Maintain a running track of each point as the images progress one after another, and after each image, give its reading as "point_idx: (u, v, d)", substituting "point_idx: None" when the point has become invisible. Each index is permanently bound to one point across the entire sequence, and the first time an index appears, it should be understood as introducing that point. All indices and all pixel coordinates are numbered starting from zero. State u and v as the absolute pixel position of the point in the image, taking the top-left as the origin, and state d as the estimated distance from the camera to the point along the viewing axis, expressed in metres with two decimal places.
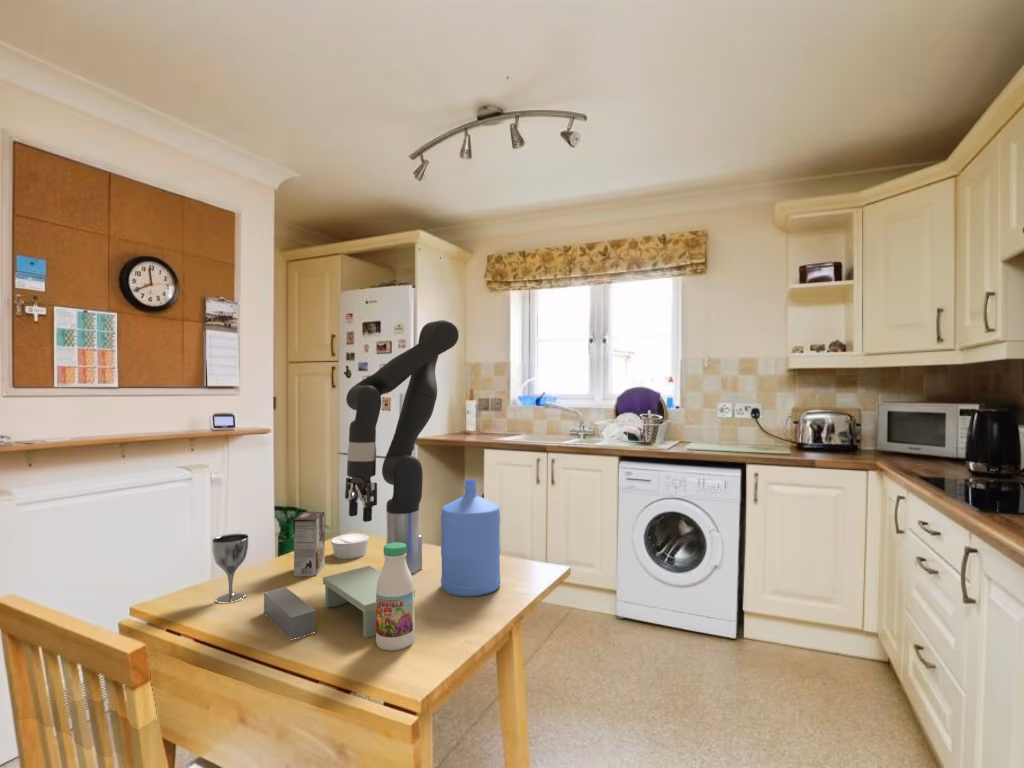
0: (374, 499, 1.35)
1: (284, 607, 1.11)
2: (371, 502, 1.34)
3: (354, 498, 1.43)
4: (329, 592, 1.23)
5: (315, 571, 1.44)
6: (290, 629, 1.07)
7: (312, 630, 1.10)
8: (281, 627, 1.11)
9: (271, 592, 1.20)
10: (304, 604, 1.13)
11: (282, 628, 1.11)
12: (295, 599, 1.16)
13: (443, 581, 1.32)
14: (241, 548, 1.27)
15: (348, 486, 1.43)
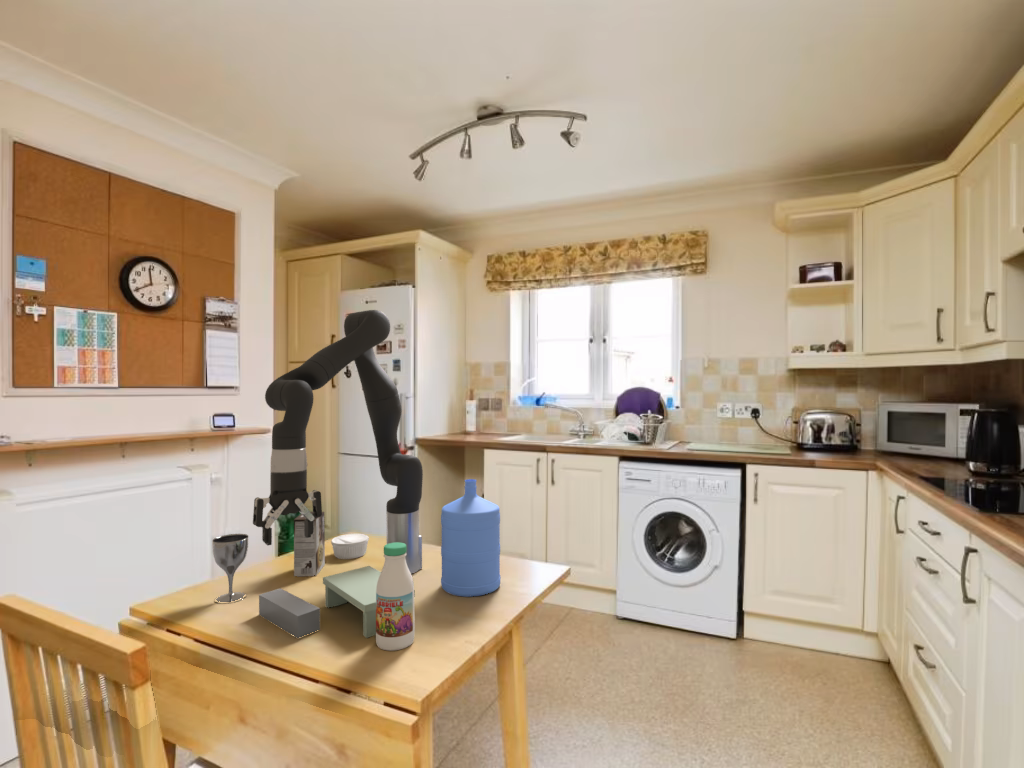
0: (316, 508, 1.20)
1: (286, 607, 1.12)
2: None
3: None
4: (329, 592, 1.23)
5: (315, 571, 1.44)
6: (296, 628, 1.08)
7: (317, 628, 1.11)
8: (284, 627, 1.11)
9: (267, 593, 1.19)
10: (306, 603, 1.14)
11: (285, 628, 1.11)
12: (294, 598, 1.16)
13: (443, 581, 1.32)
14: (241, 548, 1.27)
15: None
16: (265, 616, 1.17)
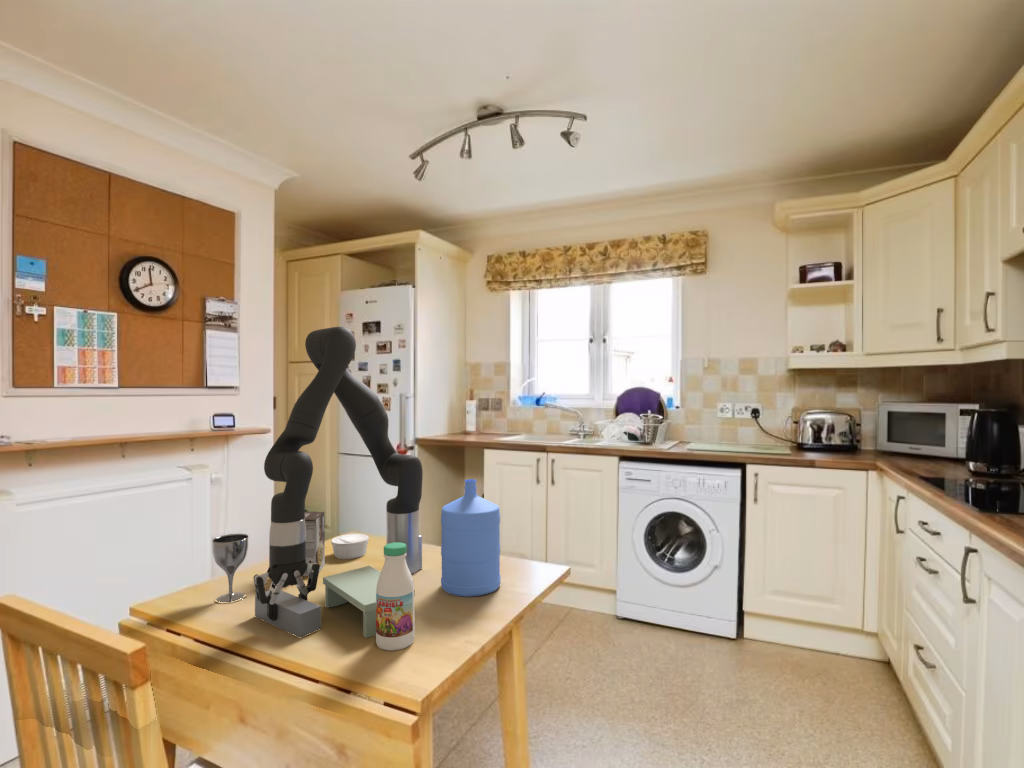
0: (311, 581, 1.19)
1: (286, 606, 1.11)
2: None
3: None
4: (329, 592, 1.23)
5: None
6: (298, 626, 1.08)
7: (318, 626, 1.11)
8: (284, 626, 1.11)
9: None
10: (306, 601, 1.14)
11: (285, 627, 1.11)
12: (293, 597, 1.16)
13: (443, 581, 1.32)
14: (241, 548, 1.27)
15: None
16: (262, 616, 1.16)
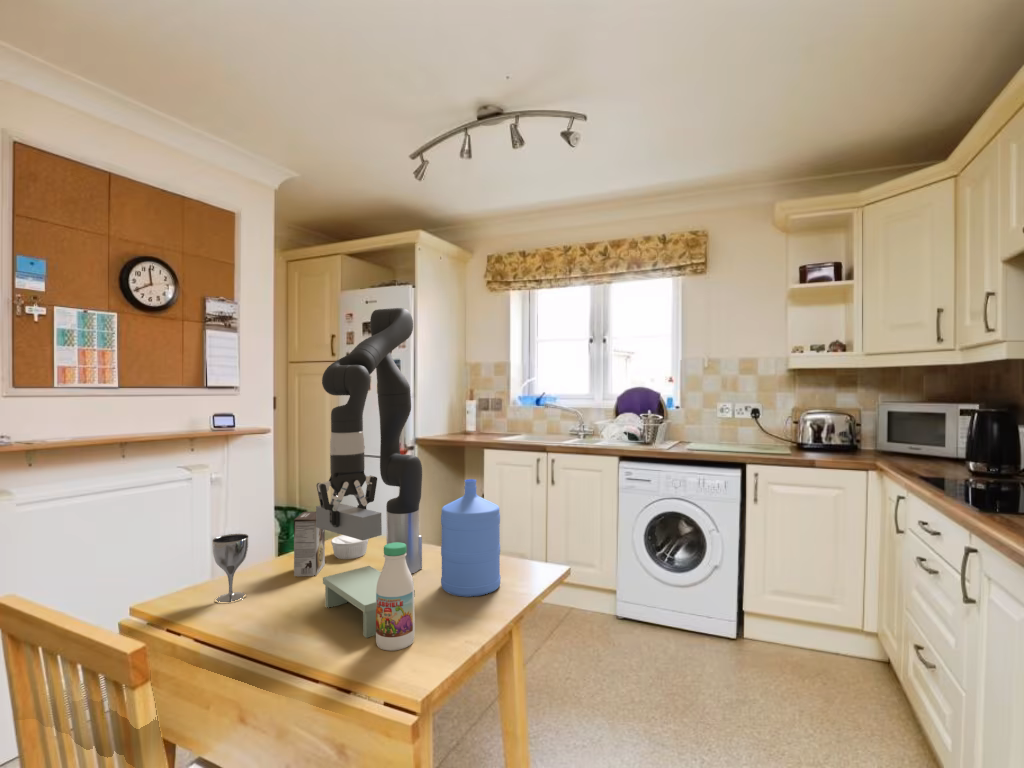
0: (368, 494, 1.23)
1: (348, 513, 1.15)
2: None
3: None
4: (329, 592, 1.23)
5: (315, 571, 1.44)
6: (361, 529, 1.12)
7: (379, 531, 1.15)
8: (346, 532, 1.15)
9: None
10: (366, 510, 1.18)
11: (347, 532, 1.15)
12: (353, 508, 1.20)
13: (443, 581, 1.32)
14: (241, 548, 1.27)
15: None
16: (324, 525, 1.20)
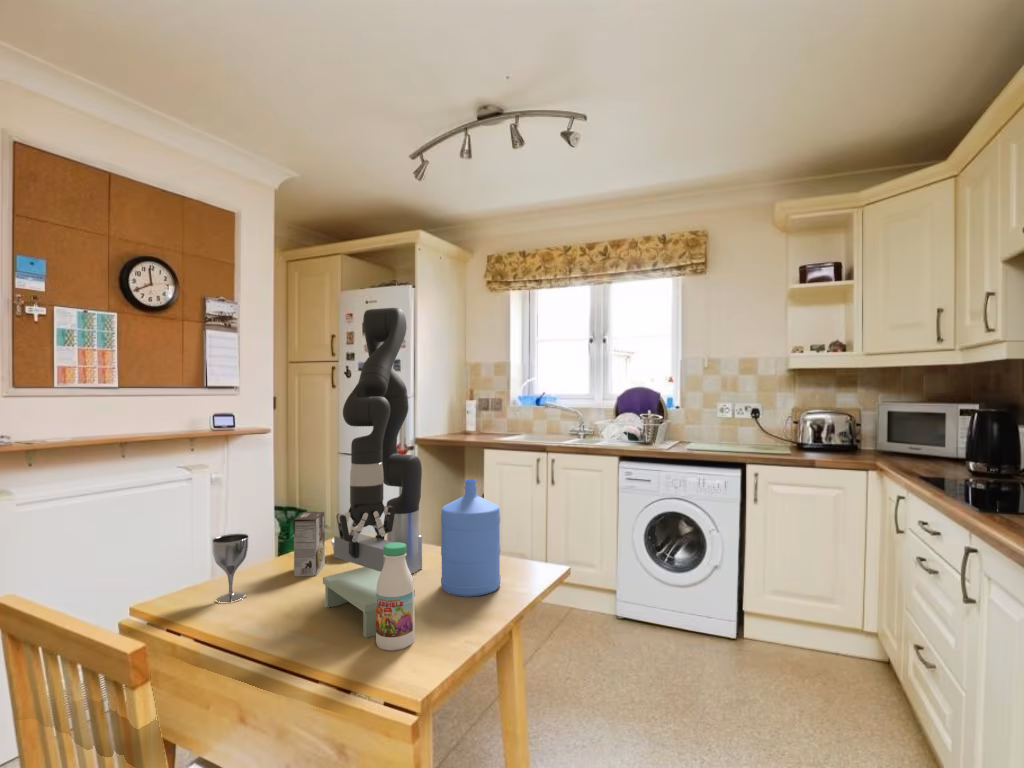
0: (386, 524, 1.24)
1: (368, 544, 1.16)
2: None
3: None
4: (329, 592, 1.23)
5: (315, 571, 1.44)
6: (381, 561, 1.12)
7: None
8: (365, 563, 1.15)
9: None
10: (385, 540, 1.19)
11: (367, 563, 1.15)
12: (371, 538, 1.21)
13: (443, 581, 1.32)
14: (241, 548, 1.27)
15: None
16: (342, 555, 1.21)
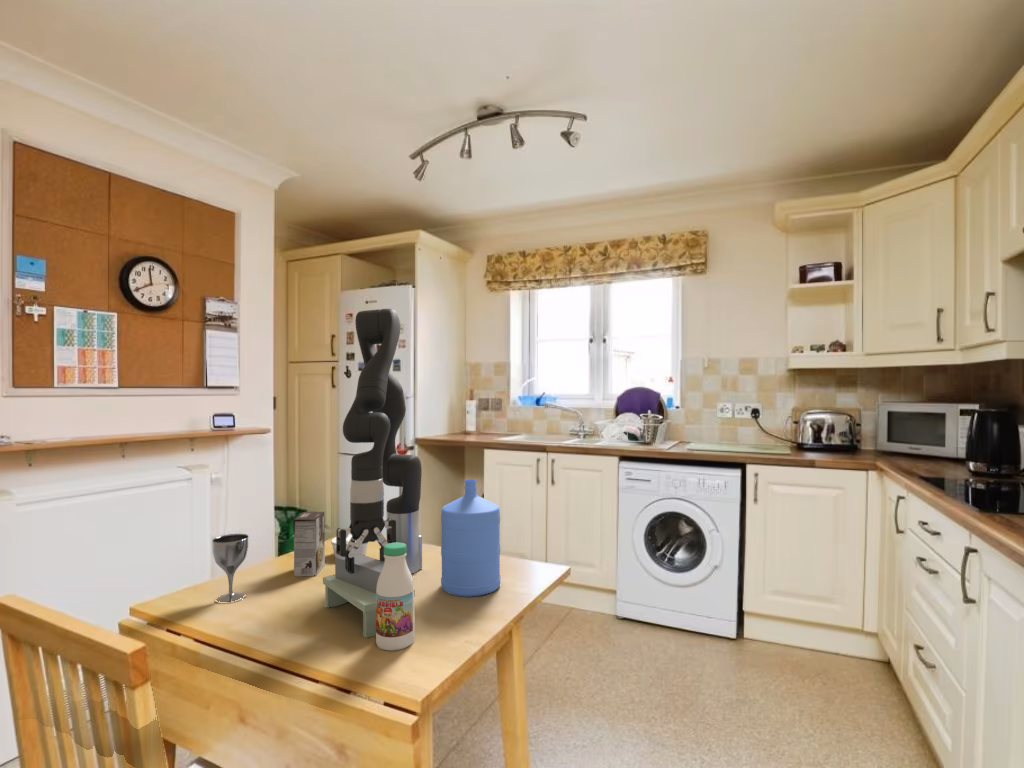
0: (390, 536, 1.24)
1: (367, 566, 1.16)
2: None
3: None
4: (329, 592, 1.23)
5: (315, 571, 1.44)
6: None
7: None
8: (365, 585, 1.15)
9: None
10: None
11: (367, 586, 1.15)
12: (372, 560, 1.21)
13: (443, 581, 1.32)
14: (241, 548, 1.27)
15: None
16: (343, 577, 1.21)
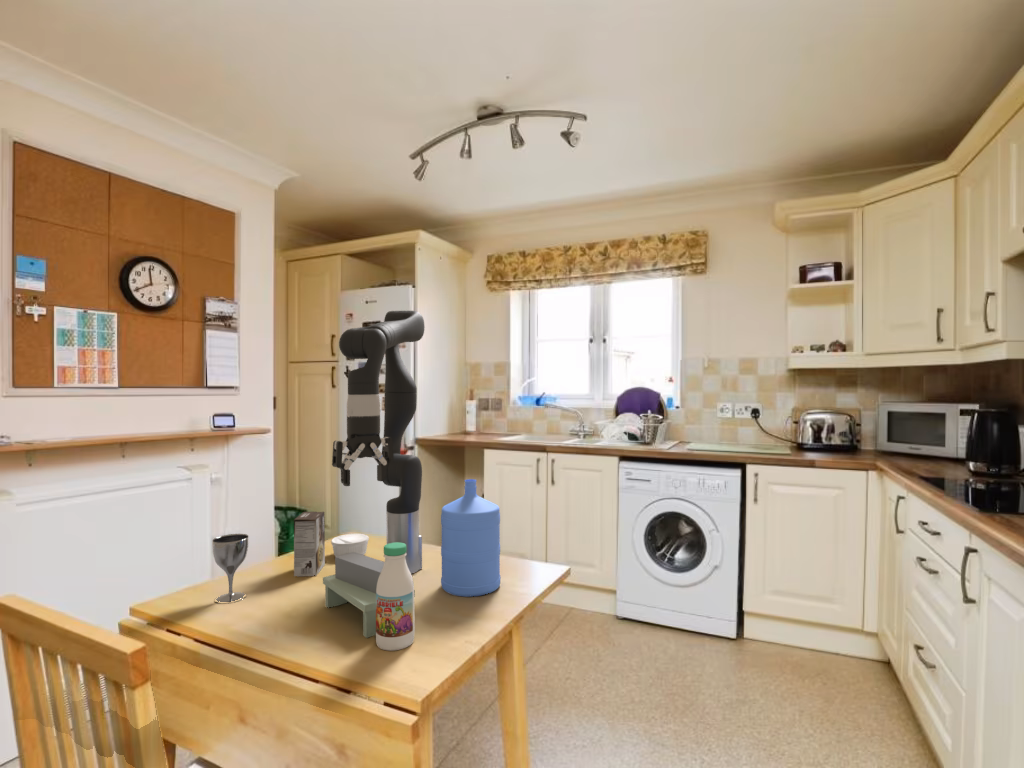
0: (387, 454, 1.25)
1: (367, 566, 1.16)
2: None
3: None
4: (329, 592, 1.23)
5: (315, 571, 1.44)
6: None
7: None
8: (365, 585, 1.15)
9: (342, 556, 1.23)
10: None
11: (367, 586, 1.15)
12: (372, 560, 1.21)
13: (443, 581, 1.32)
14: (241, 548, 1.27)
15: None
16: (343, 577, 1.21)
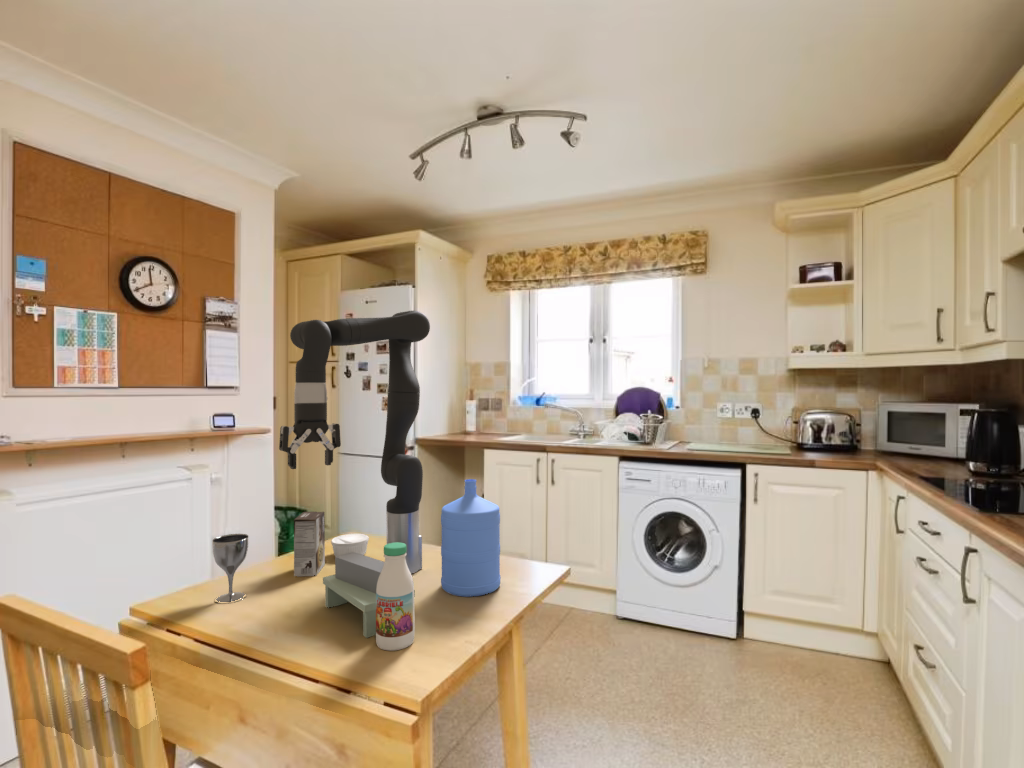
0: (335, 440, 1.32)
1: (367, 566, 1.16)
2: None
3: None
4: (329, 592, 1.23)
5: (315, 571, 1.44)
6: None
7: None
8: (365, 585, 1.15)
9: (342, 556, 1.23)
10: None
11: (367, 586, 1.15)
12: (372, 560, 1.21)
13: (443, 581, 1.32)
14: (241, 548, 1.27)
15: None
16: (343, 577, 1.21)
